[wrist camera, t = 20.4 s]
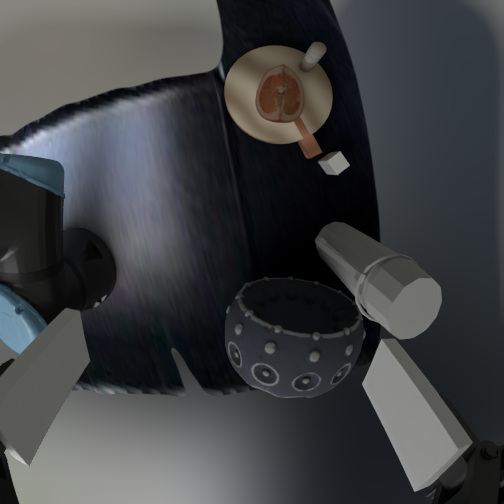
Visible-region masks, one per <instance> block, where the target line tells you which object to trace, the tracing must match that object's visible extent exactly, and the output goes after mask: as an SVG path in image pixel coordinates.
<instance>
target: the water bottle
mask: <svg viewBox="0 0 504 504" xmlns="http://www.w3.org/2000/svg"><path fill="white" fill-rule="evenodd" d="M315 243H316V248H317V250H318V253H319V255H320V257H321V258H322V259H323V260H324V261H325V262H326V264H327V265H328V266H329V267H330V268H331V269H332V270H333V271H334V273H335V274H336V275H337V276H338V277H339V278H340V279H341V281H342V282H343V283H344V284H345V285H346V286H347V288H348V289H349V290H350V291H351V292H352V293H353V295H354V296H355V299H356V304H357V306H358V308H359V310H360V312H361V313H362V314H363V315H364V316H366V317H367V318H368V319H370V320H373V321H376V322H379V323H380V324H381V325H382V326H383V327H385V328H386V329H387V330H388V331H389V332H390V333H391V334H393V335H394V336H396V337H398V338H399V339H408V338H414V337H415V336H417V335H419V334H420V333H422V332H423V331H425V330H426V329H427V328H428V327H429V326H430V324H431V323H432V321H433V320H434V319H435V318H436V316H437V314H438V311H439V308H440V305H441V302H442V298H441V288H440V286H439V285H438V284H437V283H436V282H435V281H434V280H433V279H432V278H431V277H430V276H429V275H428V274H427V273H426V272H424V271H423V270H422V269H421V268H420V267H419V266H418V265H417V264H416V262H415V261H414V260H413V259H412V258H411V257H409V256H406V255H404V254H397V253H395V252H394V251H392V250H391V249H389V248H387V247H386V246H384V245H382V244H381V243H379V242H377V241H375V240H374V239H372V238H370V237H368V236H367V235H365V234H363V233H361V232H360V231H358V230H356V229H354V228H353V227H351V226H349V225H347V224H345V223H341V222H332V223H330V224H328V225H326V226H324V227H323V229H322V230H321V232H320V233H319V234H318V236H317V237H316V239H315ZM405 258H406V259H405ZM360 303H361V304H362V305H363V306H364V308H365V309H366V310H367V312H368V313H369V314H370V315H371V316H372V317H371V316H369V315H368V314H367V313H366V312H365V311H364V310H363V308H362V307H361V304H360Z"/></svg>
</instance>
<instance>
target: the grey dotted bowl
mask: <svg viewBox="0 0 504 504" xmlns="http://www.w3.org/2000/svg"><path fill="white" fill-rule="evenodd" d="M362 320H363V319H362V315H361V312H360V310H359V308H358V306H357V304H356V302H353V301H352V300H351V299H350V298H348V297H347V296H346V295H344V294H343V293H342V291H340V290H338V291H337V290H335V289H332V288H330V287H327V286H325V285H322V284H319V282H317V281H315V282H311V281H306V280H300V279H294V278H293V277H288V278H268V277H264V278H263V279H261V280H257V281H254V282H251V283H245V284H244V286H243V288H242V289H241V290H240V291H239V292H238V293H237V294H236V297H235V298H234V300H233V302H232V304H231V305H229V306H228V308H227V317H226V322H225V346H226V350H227V354H228V357H229V359H230V362H231V364H232V366H233V367H234V369H235V370H236V371H237V372H238V374H239V375H240V376H241V377H242V378H243V379H244V380H245V381H246V382H247V383H248V384H249V385H251V386H252V387H255V388H259V389H262V390H264V391H267V392H269V393H271V394H273V395H275V396H278V397H283V398H289V397H314V396H317V395H320V394H322V393H324V392H326V391H328V390H330V389H332V388H334V387H335V386H336V385H338V384H339V383H340V382H341V381H342V380H343V379H344V378H345V377H346V376H347V374H348V373H349V372H350V371H351V369H352V368H353V366H354V364H355V362H356V360H357V358H358V355H359V353H360V350H361V346H362V341H363V339H364V338H365V335H366V333H365V330H364V328H363V321H362Z"/></svg>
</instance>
